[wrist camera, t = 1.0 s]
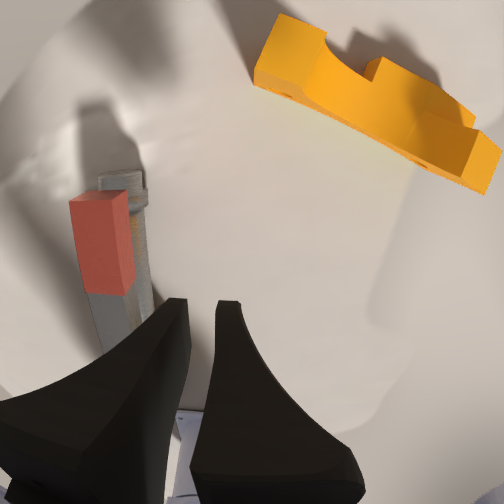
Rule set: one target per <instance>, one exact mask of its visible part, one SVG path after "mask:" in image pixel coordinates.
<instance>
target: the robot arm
mask: <svg viewBox="0 0 504 504" xmlns="http://www.w3.org/2000/svg"><path fill="white" fill-rule="evenodd" d="M190 353H191V337H190V326H189V315H188V303H187V299H182V298H168V299H167V300H166V301H165V302H164V303H163V304H162V305H161V306H160V307H159V308H158V309H157V310H156V311H155V312H154V313H153V314H151V315H150V316H149V317H148V318H147V319H146V320H145V321H144V322H143V323H142V324H141V325H140V326H139V327H137V328H136V329H135V330H134V331H133V332H132V333H131V334H129V335H128V336H127V337H126V338H125V339H123V340H122V341H121V342H120V343H119V344H117V345H116V346H115V347H114V348H112V349H111V350H109V351H108V352H107V353H105V354H104V355H102V356H101V357H99V358H98V359H96V360H95V361H93V362H92V363H90V364H89V365H87V366H85V367H83V368H81V369H80V370H78V371H76V372H74V373H72V374H70V375H69V376H67V377H65V378H63V379H61V380H59V381H57V382H54V383H52V384H50V385H48V386H45V387H43V388H40V389H38V390H35V391H32V392H30V393H27V394H24V395H20V396H17V397H14V398H10V399H7V400H3V401H0V467H1V468H2V469H3V470H4V471H5V472H6V473H7V474H8V475H9V476H10V477H11V478H12V480H11V482H10V484H9V487H8V489H6V488H4V487H2V486H1V485H0V504H163V503H164V491H165V480H166V470H167V461H168V453H169V446H170V439H171V433H172V428H173V424H174V420H175V418H176V422H177V426H178V430H179V434H180V438H181V446H180V452H179V458H178V464H177V470H176V476H175V482H174V488H173V495H172V497H168V498H167V504H357V503H358V502H359V501H360V500H361V499H362V497H363V496H364V494H365V492H366V490H365V484H364V479H363V476H362V473H361V471H360V468H359V466H358V463H357V461H356V459H355V457H354V455H353V453H352V451H351V449H350V448H349V447H347V446H346V445H344V444H343V443H342V442H340V441H339V440H337V439H336V438H335V437H333V436H332V435H331V434H330V433H328V432H327V431H326V430H325V429H323V428H322V427H321V426H320V425H319V424H318V423H317V422H315V421H314V420H313V419H312V418H311V417H310V416H309V415H308V414H307V413H306V412H305V411H304V410H303V409H302V408H301V407H300V406H299V405H298V404H297V403H296V402H295V401H294V400H293V399H292V398H291V397H290V396H289V394H288V393H287V392H286V391H285V390H284V388H283V387H282V386H281V385H280V383H279V382H278V381H277V379H276V378H275V377H274V375H273V374H272V373H271V371H270V370H269V368H268V367H267V365H266V363H265V362H264V360H263V359H262V357H261V355H260V353H259V352H258V350H257V348H256V346H255V344H254V342H253V340H252V338H251V336H250V333H249V331H248V329H247V326H246V324H245V321H244V318H243V314H242V310H241V304H240V303H239V302H238V301H224V300H219V301H218V304H217V308H216V311H215V355H214V363H213V369H212V374H211V380H210V385H209V389H208V394H207V399H206V404H205V408H204V412H196V411H185V410H177V409H178V405H179V402H180V398H181V395H182V391H183V387H184V384H185V380H186V376H187V373H188V367H189V360H190ZM472 504H504V482H503V483H501V484H499V485H497V486H495V487H494V488H492V489H490V490H489V491H487V492H486V493H484V494H483V495H481V496H480V497H479V498H478V499H477V500H476V501H474V503H472Z"/></svg>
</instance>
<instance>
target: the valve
mask: <svg viewBox="0 0 504 504" xmlns="http://www.w3.org/2000/svg"><path fill="white" fill-rule="evenodd" d="M98 185H99V190H127V193H128V206H129V217H130V227H131V237H132V246H133V254H134V262H135V269H136V276H137V278H136V279H135V280H136V287H137V293H138V299H139V305H140V311H141V317H142V322H144V321H145V320H146V319H147V318H148V317H149V316H150V315H151V314H153V313H154V312H155V306H154V299H153V292H152V284H151V276H150V268H149V259H148V250H147V240H146V228H145V216H144V207H146V206H147V205H148V204H149V202H148V189H147V188H145V187H143V186H142V171H140V170H118V171H112V172H107V173H103V174H101V175H99V176H98Z"/></svg>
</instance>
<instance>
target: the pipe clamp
mask: <svg viewBox="0 0 504 504" xmlns="http://www.w3.org/2000/svg"><path fill="white" fill-rule="evenodd" d="M326 34H327V32H325V31H323V30H321V29H319V28H316V27H314V26H312V25H309V24H307V23H304V22H302V21H300V20H297V19H294V18H292V17H289V16H287V15H284V14H281V13H280V14H279V16H278V18H277V20H276V22H275V24H274V26H273V28H272V31H271V33H270V35H269V37H268V39H267V41H266V44H265V46H264V48H263V50H262V52H261V55H260V57H259V59H258V61H257V64H256V66H255V68H254V84H253V85H255V86H257V87H260V88H263V89H265V90H268V91H271V92H273V93H276V94H278V95H281V96H283V97H285V98H288V99H290V100H293V101H295V102H297V103H300V104H302V105H304V106H307V107H309V108H311V109H313V110H316V111H318V112H320V113H322V114H324V115H326V116H329V117H331V118H333V119H335V120H337V121H339V122H341V123H343V124H345V125H347V126H349V127H351V128H353V129H355V130H357V131H359V132H361V133H363V134H365V135H366V136H368V137H370V138H372V139H374V140H376V141H378V142H379V143H381V144H383V145H385V146H387V147H388V148H390V149H392V150H394V151H395V152H397V153H399V154H400V155H402V156H404V157H405V158H407V159H409V160H410V161H412V162H414V163H415V164H417V165H418V166H420V167H421V168H423V169H424V170H427V171H430V172H432V173H435V174H437V175H439V176H442V177H444V178H446V179H449V180H451V181H453V182H455V183H458V184H460V185H462V186H464V187H467V188H469V189H471V190H473V191H476V192H478V193H479V194H482V195H485V193H486V190H487V188H488V186H489V184H490V181H491V179H492V176H493V174H494V171H495V169H496V166H497V164H498V161H499V159H500V156H501V153H502V150H501V149H500V148H499V147H498V146H497V145H495V144H494V143H493V142H492V141H491V140H490V139H489V138H488V137H487V136H486V135H484V134H483V133H482V132H481V131H480V130H476V129H472V127H473V125H474V122H475V119H476V116H475V115H473V114H472V113H471V112H470V111H469V110H467V109H466V108H465V107H464V106H463V105H461V104H460V103H459V102H458V101H456V100H455V99H454V98H453V97H451V96H450V95H449V94H447V93H446V92H445V91H443V90H442V89H441V88H439V87H438V86H437V85H435V84H434V83H432V82H430V81H428V80H426V79H423V78H421V77H419V76H417V75H415V74H413V73H411V72H409V71H407V70H406V69H404V68H402V67H400V66H398V65H397V64H395V63H393V62H391V61H390V60H388V59H386V58H385V57H383V56H382V57H379V58H377V59H374V60H372V61H369V62H368V64H367V66H366V69H365V71H364V74H363V76H360V75H359V74H357V73H356V72H354V71H353V70H352V69H350V68H349V67H347V66H346V65H345V64H343V63H342V62H341V61H340V60H339V59H338V58H336V57H335V56H334V55H333V54H332V53H331V51H330V50H329V49H328V47H327V45H326V43H325V37H326Z"/></svg>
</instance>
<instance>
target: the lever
mask: <svg viewBox="0 0 504 504" xmlns="http://www.w3.org/2000/svg"><path fill="white" fill-rule="evenodd" d="M69 206H70V214H71V220H72V227H73V233H74V239H75V245H76V250H77V256H78V261H79V266H80V271H81V275H82V280H83V284H84V289H85V293H87V295H88V299H89V303H90V307H91V311H92V315H93V318H94V322H95V326H96V329H97V333H98V336H99V339H100V343H101V346H102V349H103V352H104V354H105V353H107V352H108V351H109V350H111V349H112V348H114V347H115V346H116V345H117V344H119V343H120V342H121V341H122V340H123V339H125V338H126V337H127V336H128V335H129V334H131V333H132V332H133V331H134V330H135V329H136V328H137V327H139V326H140V325H141V324H142V323H143V322H142V317H141V311H140V305H139V299H138V293H137V287H136V280H135V279H136V278H137V276H136V269H135V262H134V254H133V246H132V237H131V227H130V217H129V206H128V193H127V190H97V191H86V192H84V193H83V194H81V195H79V196H77V197H75V198H74V199H72V200H70V201H69Z"/></svg>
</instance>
